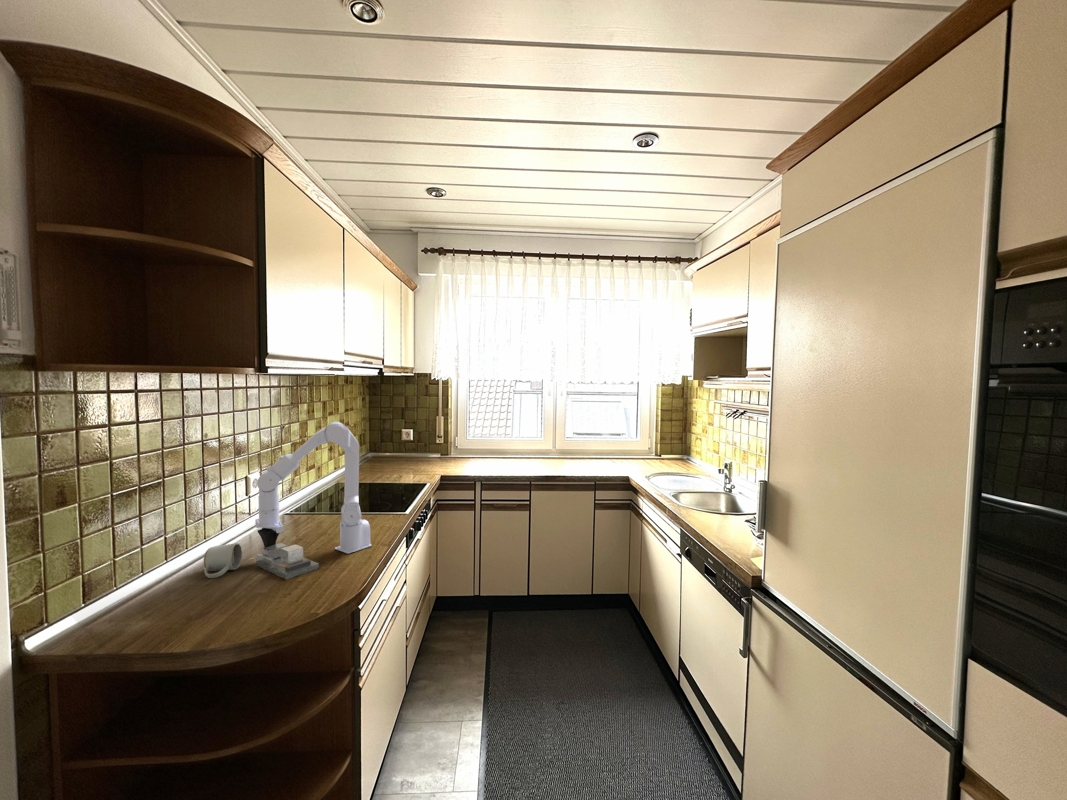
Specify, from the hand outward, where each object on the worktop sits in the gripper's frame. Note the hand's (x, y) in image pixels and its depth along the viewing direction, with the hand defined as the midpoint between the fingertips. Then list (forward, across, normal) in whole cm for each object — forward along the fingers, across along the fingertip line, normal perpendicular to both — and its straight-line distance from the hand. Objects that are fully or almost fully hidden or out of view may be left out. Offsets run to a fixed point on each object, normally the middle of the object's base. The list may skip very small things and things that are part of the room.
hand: (269, 550), depth 150 cm
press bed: (+3, +11, 0) cm, 11 cm away
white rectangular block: (+1, +14, 0) cm, 14 cm away
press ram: (+1, +3, 0) cm, 3 cm away
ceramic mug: (+3, -2, -13) cm, 13 cm away
